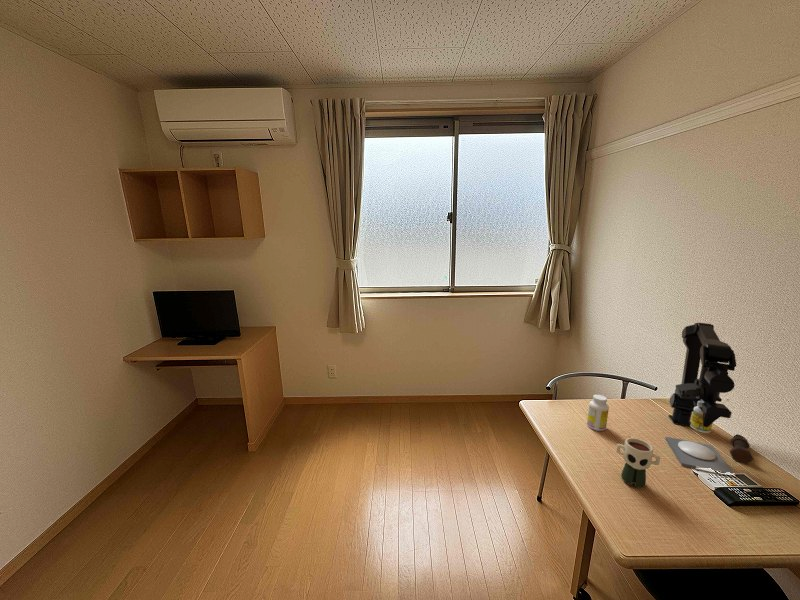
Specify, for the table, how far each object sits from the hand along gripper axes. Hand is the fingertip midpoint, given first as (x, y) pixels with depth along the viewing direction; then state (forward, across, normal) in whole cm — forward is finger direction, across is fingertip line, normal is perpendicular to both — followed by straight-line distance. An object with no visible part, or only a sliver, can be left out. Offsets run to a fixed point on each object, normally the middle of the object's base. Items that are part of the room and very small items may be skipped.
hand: (701, 422), depth 117 cm
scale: (+12, +2, 0) cm, 12 cm away
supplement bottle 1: (+12, -5, -30) cm, 33 cm away
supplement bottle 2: (+3, 0, 0) cm, 3 cm away
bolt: (+13, -7, +15) cm, 21 cm away
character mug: (+12, +25, -24) cm, 37 cm away
